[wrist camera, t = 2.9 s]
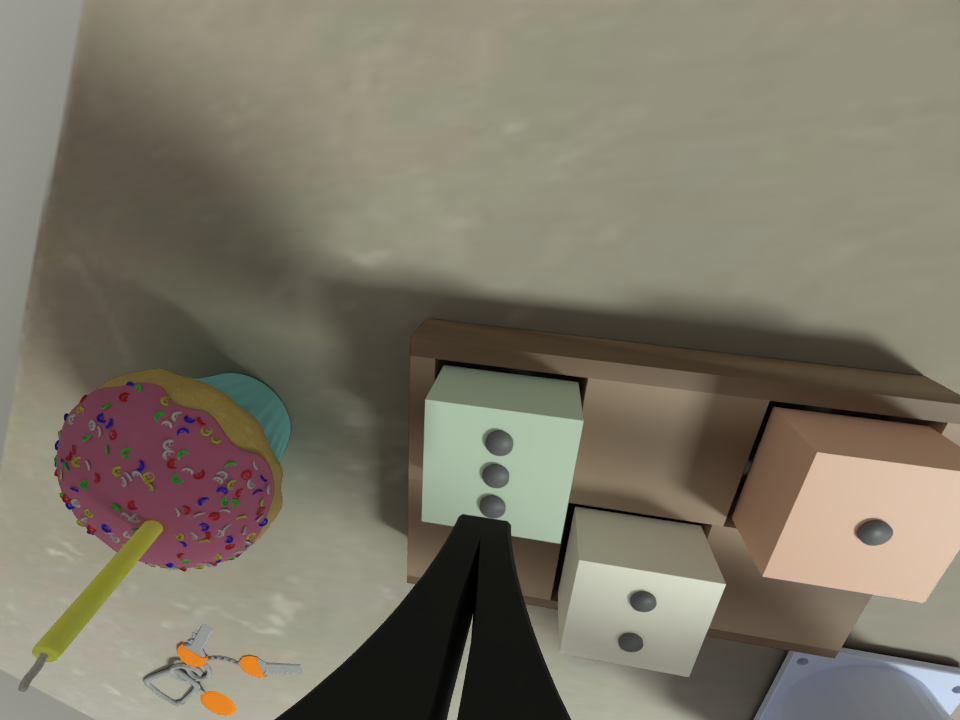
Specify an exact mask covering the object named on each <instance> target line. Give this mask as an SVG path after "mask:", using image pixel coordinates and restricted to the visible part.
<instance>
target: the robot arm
mask: <svg viewBox="0 0 960 720" xmlns="http://www.w3.org/2000/svg"><path fill="white" fill-rule="evenodd" d="M472 616H473V624H472V638H471V646H470V652H469V658H468V663H467V669H466V674H465V680H464V685H463V691H462V697H461V702H460V707H459V713H458V718H457V720H571V718H570V716H569V714H568V712H567V710H566V708H565V706H564V704H563V702H562V700H561V698H560V696H559V693H558V691H557V689H556V687H555V684H554V682H553V680H552V677H551V675H550V673H549V670H548V668H547V665H546V663H545V660H544V658H543V655H542V653H541V650H540V647H539V645H538V642H537V639H536V636H535V633H534V631H533V628H532V625H531V621H530V618H529V615H528V612H527V609H526V605H525V602H524V598H523V595H522V591H521V587H520V583H519V579H518V575H517V570H516V566H515V560H514V555H513V548H512V540H511V524H510V523H509V522H508V521H504V520H498V519H491V518H485V517H479V516H472V515H466V514H462V515H460V516H459V517H458V519H457V521H456V523H455V525H454V527H453V529H452V531H451V533H450V535H449V536H448V538H447V540H446V541H445V543H444V545H443V546H442V548H441V549H440V551H439V553H438V554H437V555H436V557H435V558H434V560H433V561H432V563H431V564H430V566H429V567H428V569H427V570H426V571H425V573H424V574H423V576H422V577H421V578H420V580H419V581H418V582H417V583H416V585H415V586H414V587H413V588H412V590H411V591H410V592H409V594H408V595H407V596H406V597H405V599H404V600H403V601H402V602H401V603H400V605H399V606H398V607H397V608H396V609H395V610H394V612H393V613H392V614H391V615H390V616H389V617H388V618H387V619H386V621H385V622H384V623H383V624H382V625H381V626H380V627H379V628H378V629H377V630H376V631H375V632H374V633H373V634H372V635H371V636H370V637H369V638H368V639H367V640H366V641H365V642H364V643H363V644H362V645H361V646H360V647H359V648H358V649H357V650H356V651H355V652H354V653H353V654H352V655H351V656H350V657H349V658H348V659H347V660H346V661H345V662H344V663H343V664H342V665H341V666H339V667H338V668H337V669H336V670H335V671H334V672H333V673H331V674H330V675H329V676H328V677H327V678H326V679H324V680H323V681H322V682H321V683H320V684H319V685H317V686H316V687H315V688H314V689H313V690H312V691H311V692H309V693H308V694H307V695H306V696H305V697H303V698H302V699H301V700H300V701H298V702H297V703H296V704H295V705H293V706H292V707H291V708H289V709H288V710H287V711H285V712H284V713H283V714H281V715H280V716H279V717H277V718H276V719H275V720H447V716H448V712H449V707H450V702H451V698H452V695H453V691H454V687H455V683H456V679H457V675H458V671H459V667H460V663H461V659H462V655H463V651H464V647H465V643H466V639H467V636H468V632H469V628H470V624H471V620H472ZM959 703H960V668H957V667H951V666H945V665H939V664H934V663H928V662H922V661H917V660H911V659H905V658H899V657H894V656H888V655H882V654H877V653H871V652H865V651H859V650H854V649H848V648H842V647H841V649H840V651H839V652H838V654H837V656H836V658H835V659H834V658H828V657H822V656H817V655H811V654H805V653H800V652H794V651H789V652H788V654H787V656H786V658H785V660H784V662H783V664H782V666H781V668H780V670H779V672H778V674H777V676H776V677H775V679H774V681H773V683H772V685H771V687H770V689H769V691H768V693H767V695H766V697H765V699H764V701H763V702H762V704H761V706H760V708H759V710H758V712H757V714H756V716H755V718H754V720H953V719H952V718H951V717H950V714H951V713H952V712H953V711H954V709H955V708H956V707H957V706H958V704H959Z"/></svg>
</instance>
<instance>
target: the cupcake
mask: <svg viewBox="0 0 960 720" xmlns="http://www.w3.org/2000/svg"><path fill="white" fill-rule="evenodd" d="M64 420H65V422H64V425H63V428H62V430H60V431H58V436H59V440H58V441H57V442H56V444H55V449H56V450H57V455H56V457H55V458H54V461H55V467H57V469H56V470H55V473H54V475H55V476H58V481H59V485H60V488H61V491H62V493H60V497H61V498H62V500H63V502H65V505H66V507H67V509H68V510H72V512H73V513H74V515H75V516H76V518H77V519H78V520H77V521H76V522H77V524H78V525H80V526H82V527H86V528H87V530H88V531H87V533H88V534H92V535H95V536H97V537H98V538H99V539H100V540H102V541H103V542H104V543H106V544H107V545H108V546H109V547H110V548H112V549H113V550H114V551H116V552H118V553H117V554H116V555H115V556H114V557H113V558H112V559H111V561H110V562H109V563H108V564H107V565H106V566H105V567H104V569H103V570H102V571H101V572H100V573H99V574H98V575H97V576H96V578H95V579H94V580H93V581H92V582H91V583H90V584H89V585H88V587H87V588H86V589H85V590H84V591H83V592H82V593H81V594H80V596H79V597H78V598H77V599H76V600H75V601H74V602H73V604H72V605H71V606H70V607H69V608H68V609H67V610H66V611H65V613H64V614H63V615H62V616H61V617H60V618H59V619H58V620H57V622H56V623H55V624H54V625H53V626H52V627H51V628H50V630H49V631H48V632H47V633H46V634H45V635H44V636H43V637H42V639H41V640H40V641H39V642H38V643H37V644H36V645H35V647H34V648H33V650H32V654H33V655H34V656H35V657H36V658H37V661H36V662H35V664H34V665H33V667H32V668H31V669H30V670H29V672H28V673H27V674H26V675H25V676H24V678H23V679H22V681H21V683H20V685H19V691H21V692H24V691H26V690H27V688H28V687H29V684H30V682H31V681H32V680H33V678H34V677H35V676H36V675H37V674H38V672H39V671H40V670H41V668H42V667H43V665H44V663H45V662H52V661H55V660H57V659H58V658H59V657H60V656H61V655H62V653H63V652H64V651H65V650H66V648H67V647H68V646H69V645H70V644H71V642H72V641H73V640H74V639H75V637H76V636H77V635H78V634H79V633H80V631H81V630H82V629H83V628H84V626H85V625H86V624H87V623H88V622H89V620H90V619H91V618H92V617H93V615H94V614H95V613H96V612H97V611H98V609H99V608H100V607H101V606H102V604H103V603H104V602H105V601H106V600H107V598H108V597H109V596H110V595H111V593H112V592H113V591H114V590H115V589H116V587H117V586H118V585H119V584H120V582H121V581H122V580H123V579H124V578H125V576H126V575H127V574H128V573H129V571H130V570H131V569H132V568H133V567H134V565H135V564H136V563H137V562H138V561H141V562H144V563H145V564H148V565H149V566H151V567H157V566H160V568H167V569H168V570H169V571H170V570H171V569H173V570H179V569H180V570H182V571H186V570H187V569H186V568H192V567H194V568H196V569H203V568H204V565H207V566H209V567H216V566H217V563H219V562H224V561H227V560H233V559H235V557H236V558H237V557H238V556H240V555H241V554H242V553H243V552H244V551H246V550H247V549H248V548H249V547H251V546H252V545H253V544H254V543H255V542H256V541H257V540H258V539H259V538H260V537H261V536H262V535H263V534H264V533H265V532H266V530H267V529H268V528H269V526H270V525H271V523H272V522H273V521H274V519H275V518H276V516H277V515H278V513H279V511H280V509H281V507H282V493H281V484H282V477H283V471H282V467H281V465H280V460H281V457H282V455H283V452H284V450H285V447H286V445H287V443H288V441H289V437H290V431H291V426H290V419H289V415H288V413H287V410H286V408H285V406H284V404H283V403H282V401H281V400H280V399H279V397H278V396H277V395H276V394H275V393H274V392H273V391H272V390H271V389H270V388H269V387H267V386H266V385H265V384H263V383H262V382H260V381H258V380H256V379H254V378H252V377H249V376H246V375H243V374H237V373H224V374H219V375H214V376H209V377H204V378H188V377H184V376H180V375H177V374H175V373H173V372H170V371H168V370H164V369H152V370H146V371H140V372H136V373H131V374H125V375H120V376H117V377H114V378H112V379H110V380H109V381H107V382H106V383H104V384H103V385H102V386H100V387H99V388H98V389H96V390H95V391H93V392H92V393H90V394H89V395H88V396H87V395H84V396H83V397H82V399H81V400H80V402H79V404H78V405H77V406H76V407H75V408H74V409H73V410H72V411H71V412H70V413H69V414H68V413H66V414H65V415H64ZM58 443H59V444H58ZM57 445H58V447H57ZM65 498H66V499H65ZM79 522H80V523H79ZM82 524H83V525H82ZM151 564H152V565H151ZM154 565H155V566H154ZM170 568H171V569H170Z"/></svg>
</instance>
